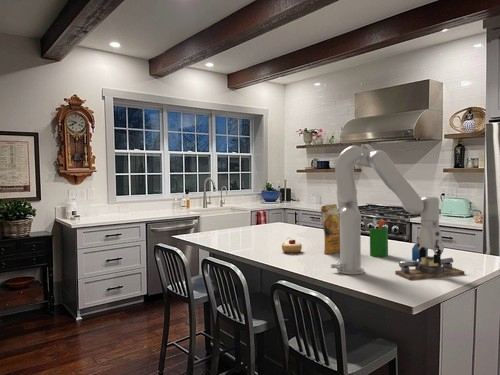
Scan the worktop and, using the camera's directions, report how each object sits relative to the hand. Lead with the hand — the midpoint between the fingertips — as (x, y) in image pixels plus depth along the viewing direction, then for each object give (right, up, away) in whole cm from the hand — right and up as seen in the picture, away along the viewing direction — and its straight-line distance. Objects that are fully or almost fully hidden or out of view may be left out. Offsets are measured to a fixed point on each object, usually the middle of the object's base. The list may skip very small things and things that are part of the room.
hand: (429, 260), depth 177 cm
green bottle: (-10, -5, +40) cm, 42 cm away
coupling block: (0, -5, 0) cm, 5 cm away
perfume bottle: (+8, -5, +28) cm, 29 cm away
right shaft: (+9, -6, +4) cm, 11 cm away
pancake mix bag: (-34, -5, +52) cm, 62 cm away
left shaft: (-9, -6, 0) cm, 11 cm away
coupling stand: (0, -6, 0) cm, 6 cm away
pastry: (-58, -5, +53) cm, 79 cm away
